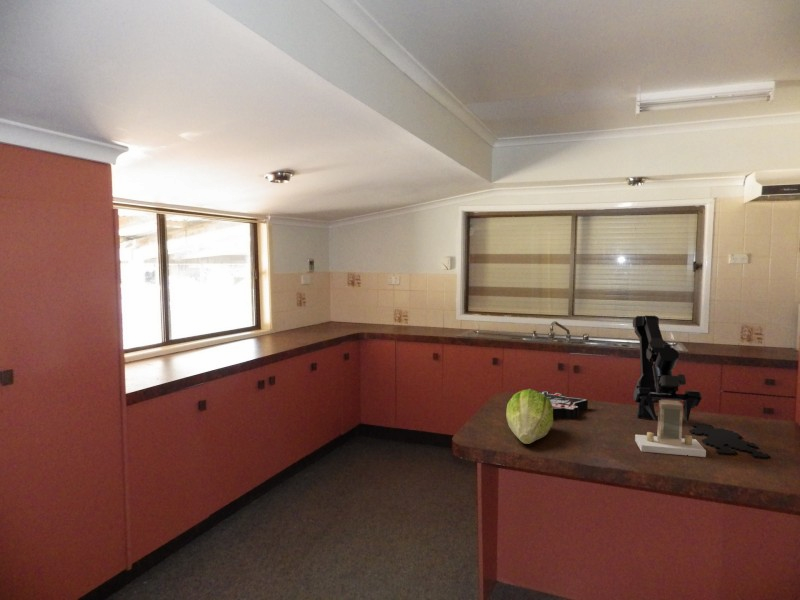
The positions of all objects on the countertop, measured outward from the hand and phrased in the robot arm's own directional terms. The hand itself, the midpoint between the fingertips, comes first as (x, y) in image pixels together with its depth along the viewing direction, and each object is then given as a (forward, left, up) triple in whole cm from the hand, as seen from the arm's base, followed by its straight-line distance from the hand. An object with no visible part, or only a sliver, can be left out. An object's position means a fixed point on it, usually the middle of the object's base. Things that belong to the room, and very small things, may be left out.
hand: (671, 420), depth 156 cm
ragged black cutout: (-16, +18, -10) cm, 26 cm away
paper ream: (-1, 0, -8) cm, 8 cm away
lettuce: (+2, -44, -10) cm, 45 cm away
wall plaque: (-30, -39, -10) cm, 51 cm away
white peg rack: (-1, 0, -10) cm, 10 cm away
